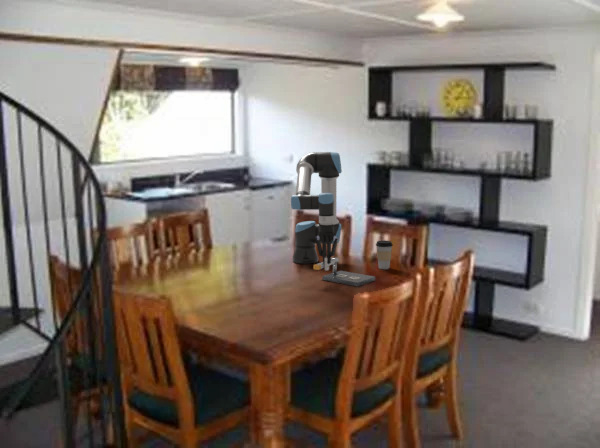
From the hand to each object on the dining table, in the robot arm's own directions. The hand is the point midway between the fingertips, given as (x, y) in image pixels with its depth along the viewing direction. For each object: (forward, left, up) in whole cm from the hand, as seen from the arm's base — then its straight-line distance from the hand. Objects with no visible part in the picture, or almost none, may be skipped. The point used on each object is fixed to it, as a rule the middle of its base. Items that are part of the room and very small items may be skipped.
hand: (326, 269), depth 336 cm
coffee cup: (+4, +47, -7) cm, 48 cm away
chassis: (+5, +12, -7) cm, 15 cm away
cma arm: (-3, +3, +1) cm, 5 cm away
